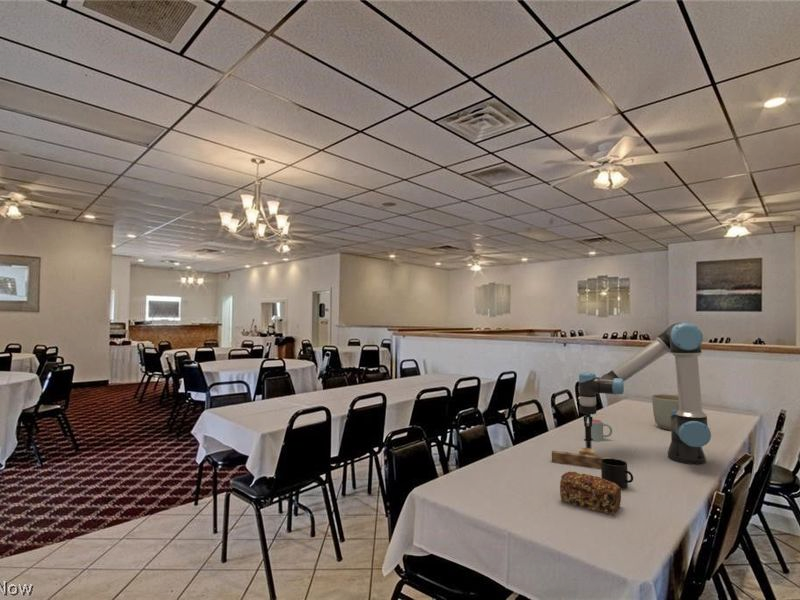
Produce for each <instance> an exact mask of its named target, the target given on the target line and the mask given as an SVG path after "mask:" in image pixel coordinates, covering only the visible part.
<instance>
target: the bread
mask: <svg viewBox="0 0 800 600" xmlns="http://www.w3.org/2000/svg"><path fill="white" fill-rule="evenodd" d="M560 478H561V479H560V481H559V495H560V501H562V502H564V503H569V504H571V505H573V506H577V507H580V508H584V509H587V510H589V511H590V510H591V511H595V512H601V513H605V514H608V515H611V516H612V515H615V514H616V513H617V511H618V510H619V509H620V506H621V502H622V489H621V488H620V487H619V486H618V485H617V484H616V483H615V482H611V481H608V480H605V479H602V478H601V476H597V475H592V474H587V473H579V472H576V471H567V472H565V473H563V474H562V475H561V477H560Z"/></svg>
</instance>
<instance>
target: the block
mask: <svg viewBox="0 0 800 600" xmlns="http://www.w3.org/2000/svg"><path fill="white" fill-rule="evenodd" d="M578 452H579V453H578V454H584V455H586V454H587V455H592V456H595V449H594V448H592V449H589V448H586V447H581V446H580V447H579V451H578Z"/></svg>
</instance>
